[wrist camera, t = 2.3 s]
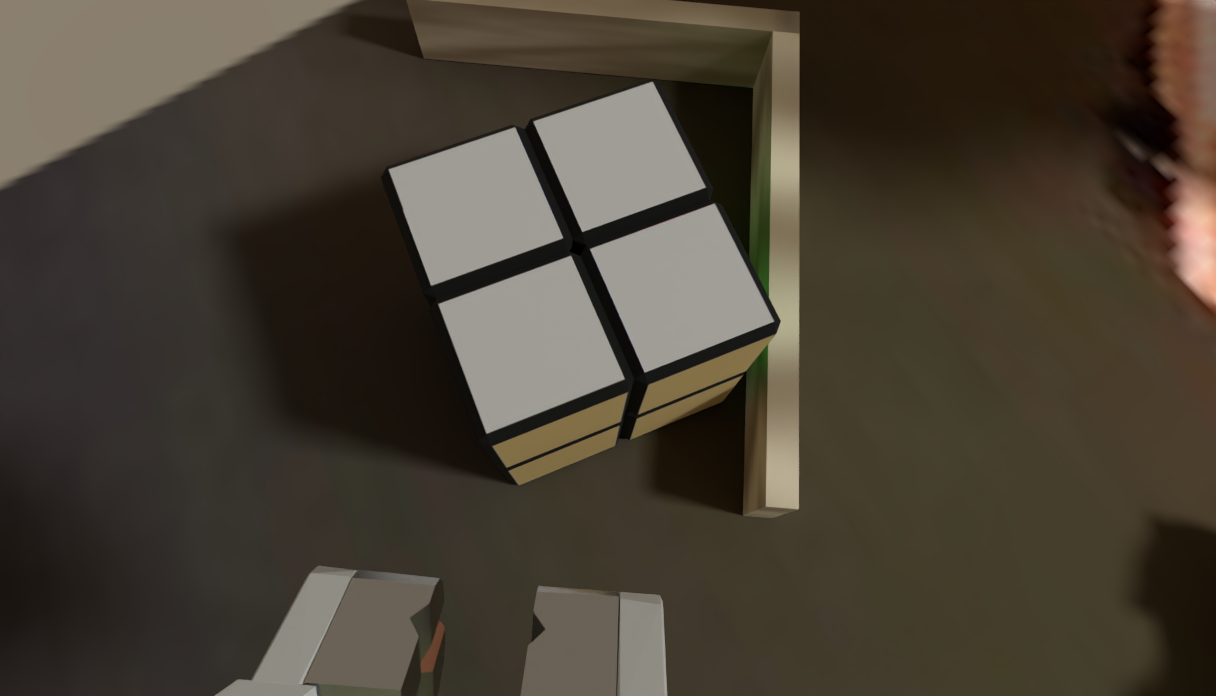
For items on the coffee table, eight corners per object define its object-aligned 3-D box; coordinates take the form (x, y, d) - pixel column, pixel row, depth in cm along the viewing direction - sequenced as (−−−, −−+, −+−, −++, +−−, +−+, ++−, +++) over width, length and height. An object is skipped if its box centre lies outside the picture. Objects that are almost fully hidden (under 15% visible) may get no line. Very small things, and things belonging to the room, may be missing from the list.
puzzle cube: (433, 282, 33) (374, 164, 24) (636, 209, 35) (657, 69, 25) (511, 490, 31) (480, 450, 21) (727, 401, 32) (789, 326, 23)
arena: (771, 518, 31) (798, 509, 27) (345, 482, 31) (311, 468, 27) (777, 69, 37) (799, 11, 34) (427, 38, 37) (409, -24, 33)
